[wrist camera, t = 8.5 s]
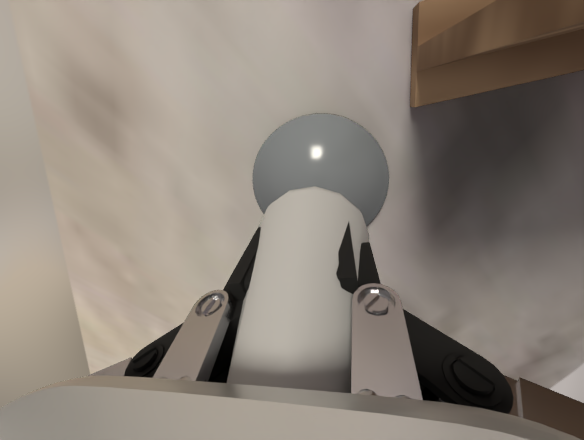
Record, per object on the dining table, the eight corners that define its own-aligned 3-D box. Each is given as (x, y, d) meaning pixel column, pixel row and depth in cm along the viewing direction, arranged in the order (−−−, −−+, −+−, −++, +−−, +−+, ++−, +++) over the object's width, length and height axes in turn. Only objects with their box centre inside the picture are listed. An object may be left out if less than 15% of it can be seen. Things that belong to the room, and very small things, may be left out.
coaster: (237, 131, 17) (234, 132, 16) (385, 95, 14) (387, 95, 14) (273, 244, 22) (271, 247, 21) (388, 233, 19) (389, 237, 19)
